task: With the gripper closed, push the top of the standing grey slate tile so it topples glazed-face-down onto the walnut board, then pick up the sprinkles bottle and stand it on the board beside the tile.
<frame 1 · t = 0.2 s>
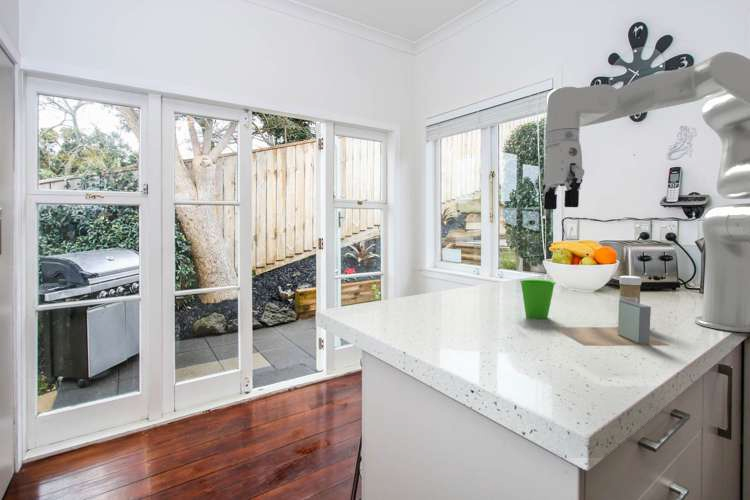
hand: (560, 208, 94), 31 cm above the worktop, fingers open, 9 cm apart
sprinkles bottle: (628, 329, 94), on the worktop
board: (605, 340, 84), on the worktop
tile: (632, 339, 81), point 1 cm above the worktop, touching board
cup: (536, 321, 102), on the worktop
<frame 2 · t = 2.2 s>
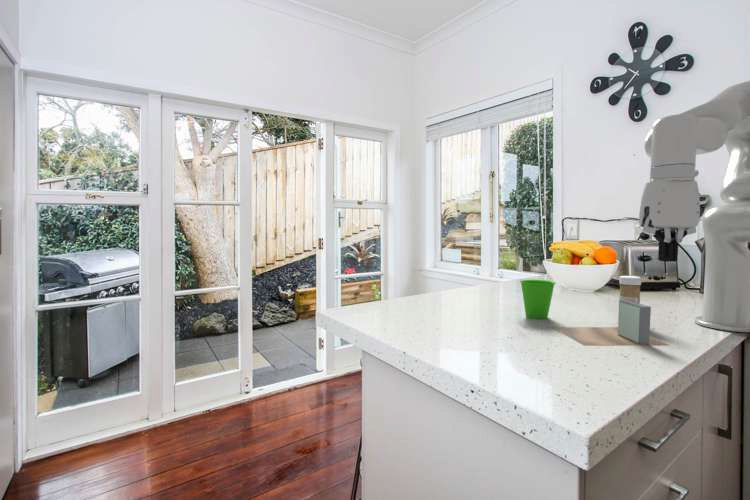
hand: (667, 260, 80), 19 cm above the worktop, fingers closed
nothing on the worktop moved.
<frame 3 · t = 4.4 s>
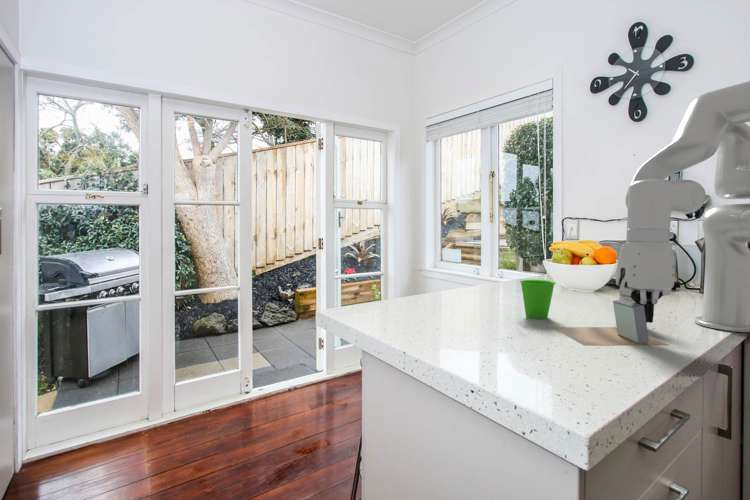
hand: (643, 321, 81), 5 cm above the worktop, fingers closed
tile: (632, 338, 81), point 1 cm above the worktop, tilted 10°, touching board
everything else where it was.
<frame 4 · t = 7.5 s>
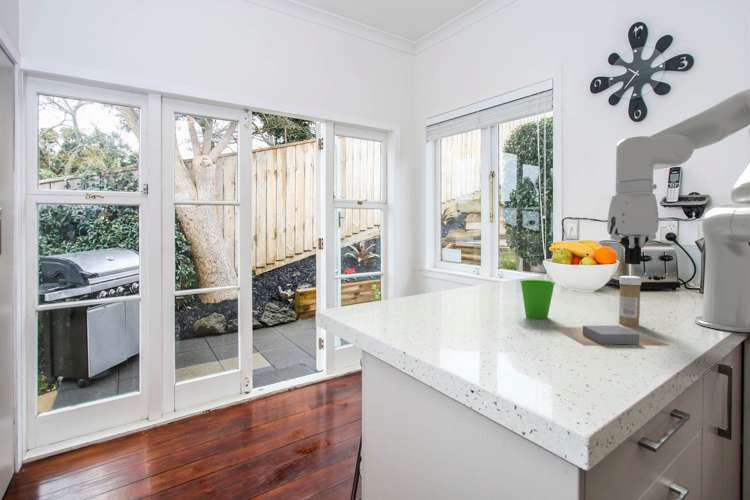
hand: (632, 263, 91), 17 cm above the worktop, fingers closed
tile: (627, 334, 81), point 2 cm above the worktop, tilted 90°, touching board
everything else where it was.
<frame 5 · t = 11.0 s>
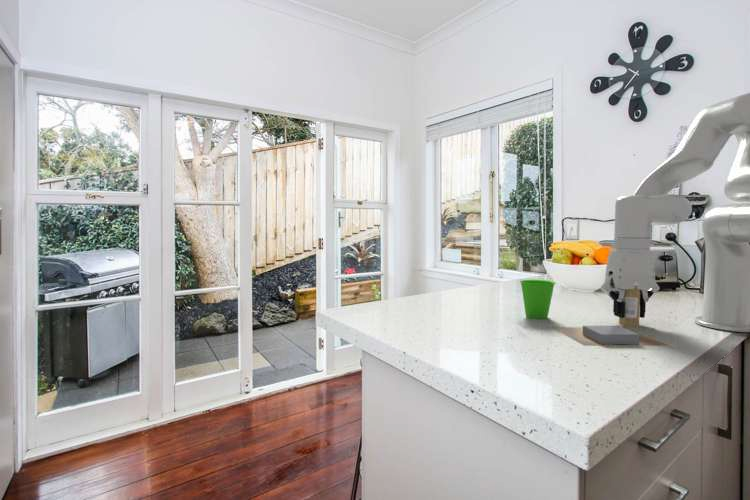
hand: (628, 315, 94), 3 cm above the worktop, fingers closed on sprinkles bottle, 4 cm apart
sprinkles bottle: (628, 329, 94), on the worktop, touching gripper
everything else where it was.
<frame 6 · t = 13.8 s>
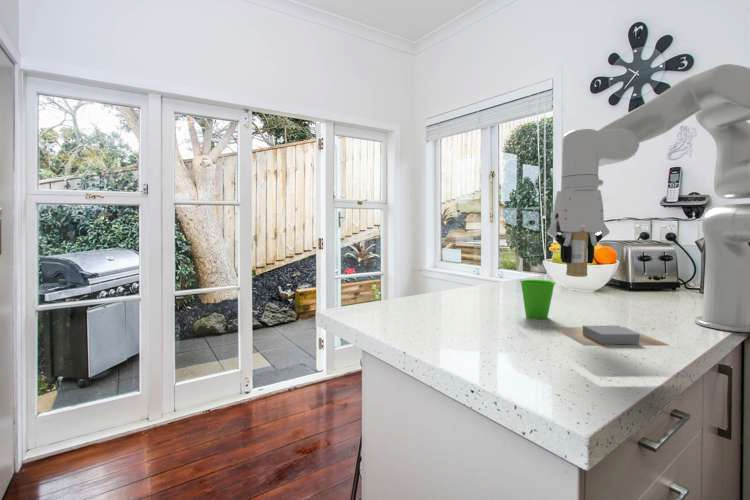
hand: (576, 262, 87), 18 cm above the worktop, fingers closed on sprinkles bottle, 4 cm apart
sprinkles bottle: (576, 276, 87), point 14 cm above the worktop, touching gripper
everything else where it was.
when the fingers open (5 cm above the worktop, at t = 16.6 s): sprinkles bottle stays where it is, resting on board.
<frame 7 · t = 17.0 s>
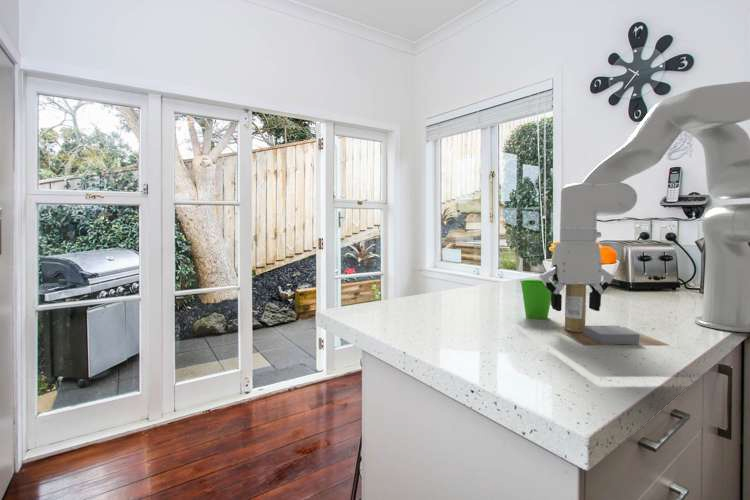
hand: (575, 309, 88), 6 cm above the worktop, fingers open, 8 cm apart
sprinkles bottle: (574, 331, 88), point 1 cm above the worktop, touching board
everything else where it was.
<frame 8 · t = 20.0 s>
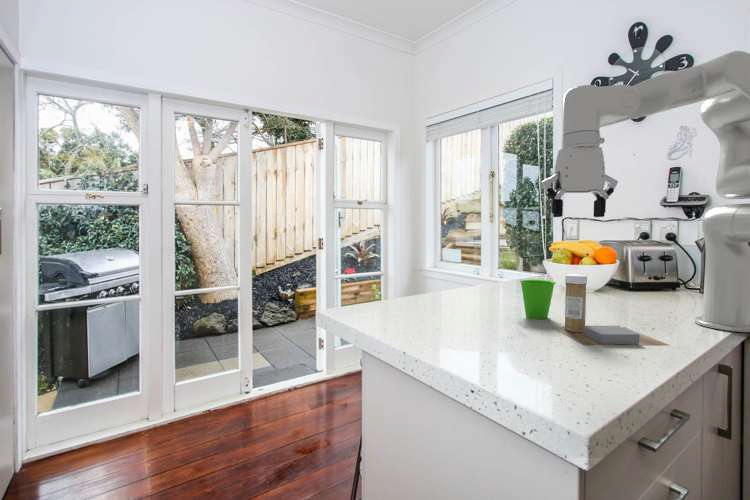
hand: (578, 216, 86), 28 cm above the worktop, fingers open, 9 cm apart
nothing on the worktop moved.
at the end: tile tilted 90°; sprinkles bottle inside the target area (0.1 cm from its centre), point 1.0 cm above the worktop; sprinkles bottle tilted 0° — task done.
